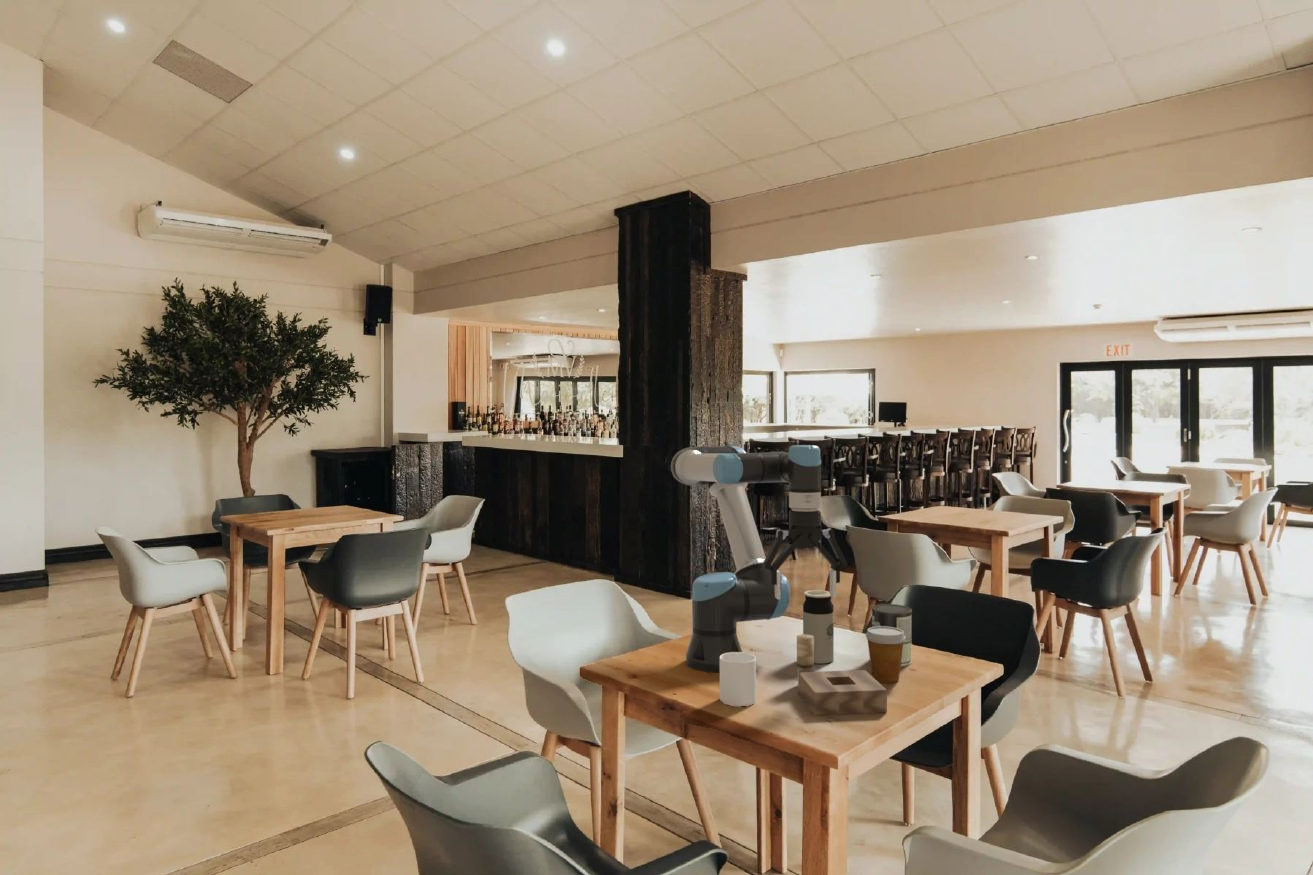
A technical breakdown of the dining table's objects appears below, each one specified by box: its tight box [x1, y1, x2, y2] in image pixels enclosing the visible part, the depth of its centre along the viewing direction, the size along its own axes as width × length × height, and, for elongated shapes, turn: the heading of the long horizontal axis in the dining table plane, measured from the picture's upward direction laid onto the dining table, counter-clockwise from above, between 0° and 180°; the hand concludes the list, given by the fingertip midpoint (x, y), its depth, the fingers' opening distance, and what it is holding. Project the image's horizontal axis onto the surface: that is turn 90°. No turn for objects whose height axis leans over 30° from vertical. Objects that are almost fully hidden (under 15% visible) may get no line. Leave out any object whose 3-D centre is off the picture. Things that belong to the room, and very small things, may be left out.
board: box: [797, 669, 888, 716], centre depth 180 cm, size 16×14×5 cm
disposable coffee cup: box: [865, 626, 906, 684], centre depth 197 cm, size 10×10×12 cm
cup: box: [719, 651, 757, 707], centre depth 184 cm, size 8×12×10 cm
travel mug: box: [802, 589, 835, 665], centre depth 213 cm, size 8×8×18 cm
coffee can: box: [871, 603, 913, 668], centre depth 211 cm, size 10×10×14 cm
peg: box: [796, 633, 815, 687], centre depth 192 cm, size 4×4×12 cm
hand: (805, 597), depth 192 cm, fingers open, 13 cm apart
